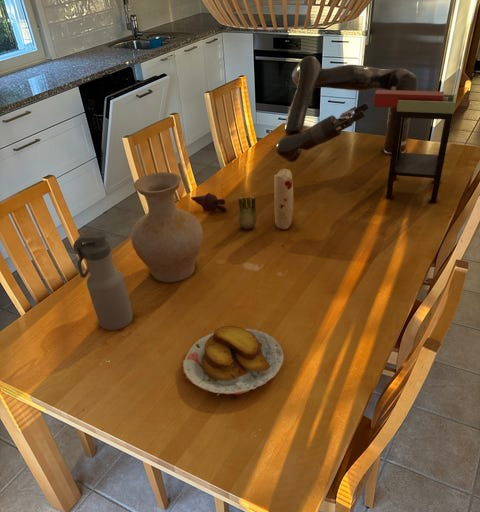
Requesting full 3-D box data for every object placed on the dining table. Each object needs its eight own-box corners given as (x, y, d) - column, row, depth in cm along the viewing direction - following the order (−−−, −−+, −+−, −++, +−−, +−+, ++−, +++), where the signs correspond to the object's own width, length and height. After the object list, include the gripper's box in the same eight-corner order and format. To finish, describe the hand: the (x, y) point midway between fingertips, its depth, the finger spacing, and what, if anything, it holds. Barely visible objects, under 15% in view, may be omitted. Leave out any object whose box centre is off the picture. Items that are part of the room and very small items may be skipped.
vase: (133, 260, 170) (113, 175, 151) (196, 245, 175) (184, 161, 156) (146, 296, 154) (125, 205, 135) (215, 279, 159) (204, 189, 140)
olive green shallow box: (399, 103, 179) (400, 92, 177) (454, 105, 173) (456, 94, 171) (396, 111, 172) (397, 100, 170) (453, 113, 167) (455, 102, 165)
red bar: (375, 103, 179) (376, 89, 176) (446, 105, 172) (449, 91, 169) (373, 106, 176) (374, 93, 173) (446, 109, 169) (448, 95, 166)
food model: (293, 231, 178) (293, 177, 165) (274, 232, 179) (273, 178, 166) (293, 218, 186) (293, 165, 173) (274, 218, 186) (273, 166, 174)
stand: (391, 177, 206) (402, 94, 186) (438, 181, 201) (454, 96, 181) (385, 198, 193) (396, 111, 172) (435, 203, 187) (453, 113, 167)
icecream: (184, 197, 191) (220, 205, 186) (193, 184, 194) (229, 192, 190) (188, 210, 196) (222, 219, 192) (196, 198, 200) (231, 207, 195)
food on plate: (173, 398, 121) (168, 379, 117) (195, 330, 140) (192, 312, 136) (280, 405, 117) (279, 385, 113) (288, 334, 136) (287, 315, 132)
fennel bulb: (258, 226, 183) (256, 195, 175) (252, 232, 179) (250, 201, 172) (243, 223, 185) (241, 193, 177) (237, 230, 181) (235, 199, 174)
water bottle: (92, 330, 143) (64, 244, 125) (104, 309, 150) (79, 224, 133) (127, 332, 141) (103, 244, 124) (137, 310, 149) (116, 225, 131)
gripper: (316, 128, 182) (357, 106, 173) (324, 115, 193) (364, 93, 183) (325, 146, 185) (367, 125, 176) (333, 132, 196) (373, 112, 186)
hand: (365, 109), depth 180 cm, fingers open, 8 cm apart
